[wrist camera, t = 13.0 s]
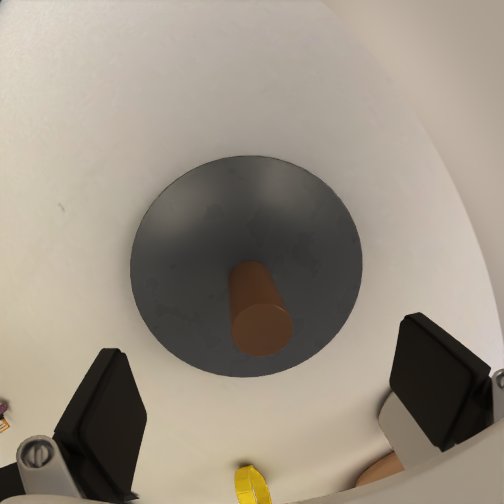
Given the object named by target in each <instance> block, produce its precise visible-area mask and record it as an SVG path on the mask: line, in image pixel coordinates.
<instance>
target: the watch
mask: <svg viewBox="0 0 504 504" xmlns="http://www.w3.org/2000/svg"><path fill="white" fill-rule="evenodd" d="M251 484H252V485H251ZM266 485H267V484H266V482H265V480H264V478H263V476H262V475H261V474H260V473H259V472H258V471H257V470H256V469H255V468H254V467H253V465H250V466H246V467H242V468H239V469H238V470H237V471H236V473H235V488H236V493H237V497H238V500H239V503H240V504H257V503H258V504H272V502H271V497H270V493H269V490H268V487H267V486H266ZM252 486H253V489H254V492H255V495H256V498H257V502H256V499H255V496H254V494H253V491H252Z"/></svg>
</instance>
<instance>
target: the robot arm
mask: <svg viewBox="0 0 504 504" xmlns="http://www.w3.org/2000/svg"><path fill="white" fill-rule="evenodd" d="M490 370H491V367H490V366H489V365H487V364H486V363H485V362H484V361H482V360H481V359H480V358H479V357H478V356H476V355H475V354H474V353H473V352H471V351H470V350H469V349H468V348H466V347H465V346H464V345H463V344H461V343H460V342H459V341H457V340H456V339H455V338H454V337H452V336H451V335H450V334H448V333H447V332H446V331H445V330H443V329H442V328H441V327H439V326H438V325H437V324H435V323H434V322H433V321H432V320H430V319H429V318H428V317H426V316H425V315H424V314H422V313H420V312H418V313H414V314H409V315H406V316H405V317H404V319H403V320H402V321H401V323H400V327H399V334H398V339H397V345H396V351H395V356H394V361H393V366H392V370H391V375H390V380H389V383H390V387H391V389H392V390H393V392H394V393H395V394H396V396H397V397H398V398H399V400H400V401H401V402H402V404H403V405H404V406H405V408H406V409H407V410H408V412H409V413H410V414H411V416H412V417H413V418H414V420H415V421H416V423H417V424H418V425H419V427H420V428H421V429H422V431H423V432H424V434H425V435H426V436H427V438H428V439H429V440H430V442H431V443H432V445H433V446H435V447H438V448H439V449H440V451H441V452H442V454H440V455H438V456H435V457H433V458H431V459H429V460H427V461H425V462H423V463H421V464H418V465H416V466H414V467H411V468H409V469H407V470H404V471H402V472H399V473H397V474H394V475H391V476H389V477H386V478H383V479H380V480H378V481H375V482H372V483H369V484H366V485H363V486H359V487H356V488H353V489H349V490H346V491H342V492H338V493H334V494H331V495H326V496H322V497H318V498H313V499H308V500H303V501H298V502H292V503H286V504H504V369H500V370H498V371H496V372H495V373H494V374H493V376H492V378H490V377H489V376H488V375H489V373H490ZM146 422H147V413H146V410H145V407H144V405H143V402H142V399H141V397H140V394H139V391H138V388H137V386H136V383H135V380H134V377H133V374H132V371H131V368H130V365H129V362H128V359H127V356H126V354H125V353H121V351H120V349H118V348H103V349H102V350H101V351H100V352H99V354H98V356H97V357H96V359H95V360H94V362H93V364H92V365H91V367H90V369H89V370H88V372H87V374H86V375H85V377H84V379H83V380H82V382H81V384H80V385H79V387H78V389H77V390H76V392H75V394H74V396H73V397H72V399H71V401H70V403H69V404H68V406H67V408H66V410H65V411H64V413H63V415H62V417H61V419H60V420H59V422H58V424H57V426H56V428H55V430H54V432H55V433H54V435H53V437H52V438H50V437H48V436H45V435H36V436H32V437H30V438H27V439H26V440H24V441H23V442H22V443H21V444H20V446H19V447H18V449H17V453H16V460H17V462H15V463H13V464H10V465H7V466H5V467H2V468H0V504H113V503H109V502H114V503H120V504H123V502H124V498H125V496H129V494H130V491H131V486H132V481H133V477H134V472H135V468H136V463H137V459H138V455H139V450H140V446H141V442H142V438H143V434H144V430H145V426H146ZM455 444H457V446H455ZM454 446H455V447H454ZM452 447H453V448H452ZM443 452H444V453H443Z"/></svg>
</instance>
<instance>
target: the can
mask: <svg viewBox="0 0 504 504" xmlns="http://www.w3.org/2000/svg"><path fill="white" fill-rule="evenodd" d="M379 426H380V427H381V429H382V431H383V432H384V434H385V436H386V437H387V439H388V441H389V443H390V444H391V446H392V448H393V450H394V451H395V453H396V455H397V456H398V458H399V460H400V462H401V463H402V465H403V467H404V469H405V470H407V469H409V468H411V467H414V466H416V465H418V464H421V463H423V462H425V461H427V460H429V459H431V458H433V457H435V456H438V455H440V454H442V452H441V451H440V449H439V448H438V447H435V446H433V445H432V443H431V442H430V440H429V439H428V438H427V436H426V435H425V434H424V432H423V431H422V429H421V428H420V427H419V425H418V424H417V423H416V421H415V420H414V418H413V417H412V416H411V414H410V413H409V412H408V410H407V409H406V408H405V406H404V405H403V404H402V402H401V401H400V400H399V398H398V397H397V396H396V394H395V393H394V392H393V391H392V392H391V393H390V395H389V396H388V398H387V399H386V401H385V403H384V406H383V407H382V409H381V412H380V415H379ZM455 446H457V444H455ZM455 446H454V447H455ZM452 448H453V447H452ZM443 453H444V452H443Z"/></svg>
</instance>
